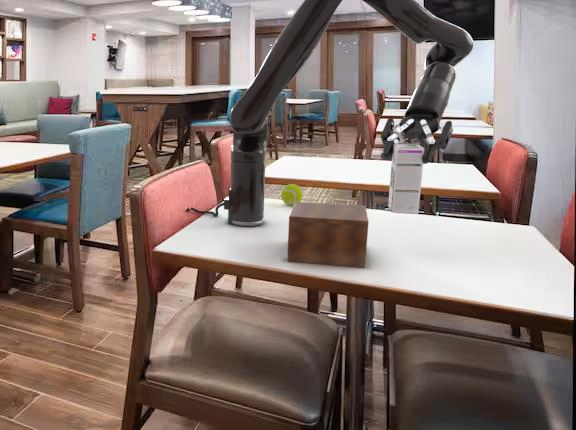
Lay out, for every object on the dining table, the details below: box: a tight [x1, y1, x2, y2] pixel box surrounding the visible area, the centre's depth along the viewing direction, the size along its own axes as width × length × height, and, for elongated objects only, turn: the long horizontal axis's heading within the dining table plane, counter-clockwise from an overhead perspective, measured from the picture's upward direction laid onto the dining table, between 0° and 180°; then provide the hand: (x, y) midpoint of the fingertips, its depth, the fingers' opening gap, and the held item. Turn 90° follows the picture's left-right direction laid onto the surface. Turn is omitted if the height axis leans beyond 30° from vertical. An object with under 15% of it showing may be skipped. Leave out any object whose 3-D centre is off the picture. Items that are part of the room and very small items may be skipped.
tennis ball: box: [280, 183, 304, 207], centre depth 169 cm, size 7×7×7 cm
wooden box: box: [286, 201, 369, 269], centre depth 120 cm, size 16×15×10 cm
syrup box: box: [387, 143, 425, 215], centre depth 118 cm, size 6×6×14 cm
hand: (405, 159), depth 116 cm, fingers closed on syrup box, 7 cm apart
